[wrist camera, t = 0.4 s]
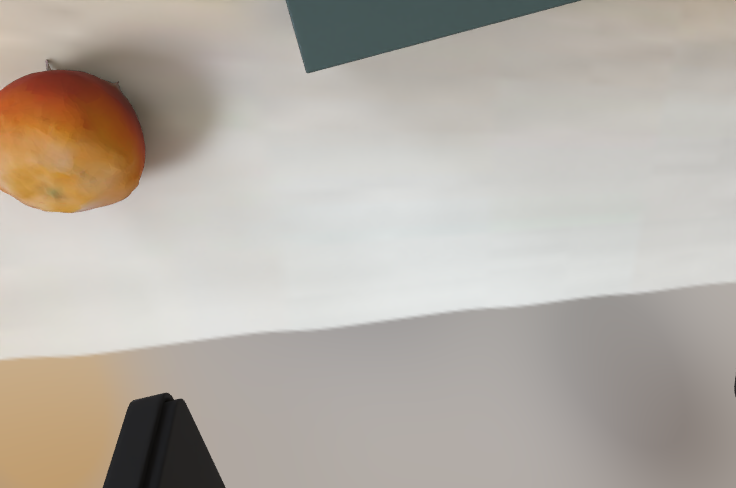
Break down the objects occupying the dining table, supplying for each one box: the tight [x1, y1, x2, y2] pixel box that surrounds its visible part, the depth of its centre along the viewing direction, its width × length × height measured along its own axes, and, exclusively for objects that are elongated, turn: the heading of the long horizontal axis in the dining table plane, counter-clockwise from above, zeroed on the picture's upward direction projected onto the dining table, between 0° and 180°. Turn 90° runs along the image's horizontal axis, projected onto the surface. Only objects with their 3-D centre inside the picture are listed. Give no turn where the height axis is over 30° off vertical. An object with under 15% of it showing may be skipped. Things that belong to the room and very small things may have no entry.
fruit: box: [0, 60, 145, 213], centre depth 34 cm, size 8×8×8 cm
